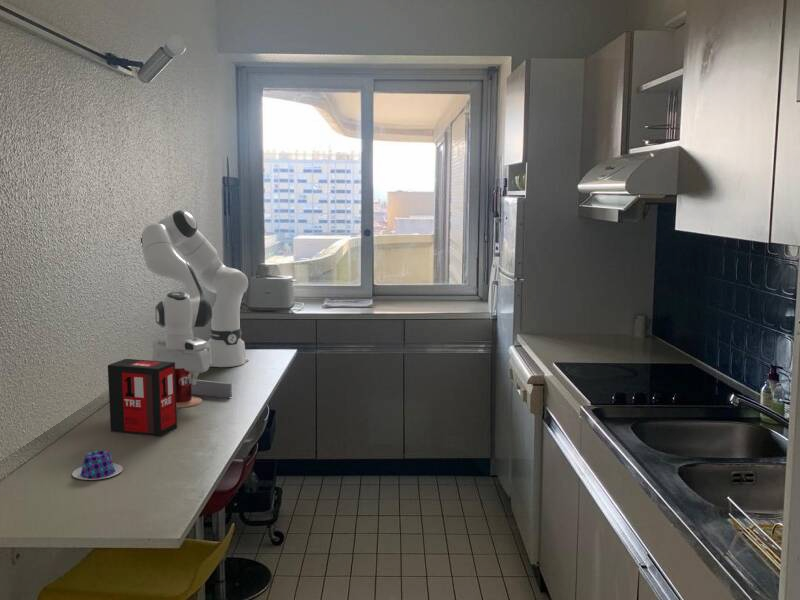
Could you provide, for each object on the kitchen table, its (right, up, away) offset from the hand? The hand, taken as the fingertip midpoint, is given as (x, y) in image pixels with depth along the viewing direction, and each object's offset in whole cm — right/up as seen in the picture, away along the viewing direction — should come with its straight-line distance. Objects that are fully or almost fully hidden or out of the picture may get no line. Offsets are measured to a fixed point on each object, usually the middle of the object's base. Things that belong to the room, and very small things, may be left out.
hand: (180, 383), depth 268 cm
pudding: (-4, -17, -63) cm, 66 cm away
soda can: (0, -6, +1) cm, 6 cm away
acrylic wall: (+4, -5, +11) cm, 13 cm away
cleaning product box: (-3, -11, -28) cm, 30 cm away
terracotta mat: (0, -7, +1) cm, 7 cm away
